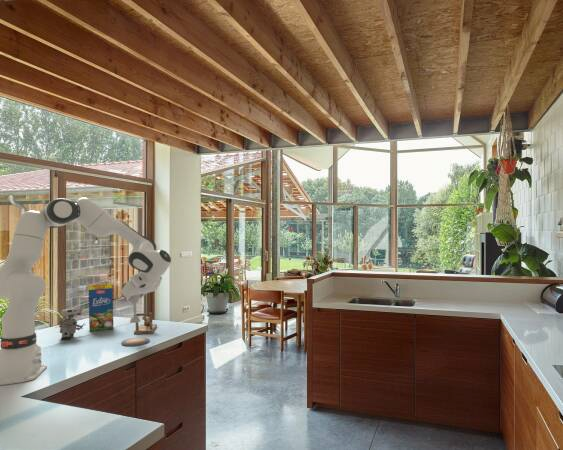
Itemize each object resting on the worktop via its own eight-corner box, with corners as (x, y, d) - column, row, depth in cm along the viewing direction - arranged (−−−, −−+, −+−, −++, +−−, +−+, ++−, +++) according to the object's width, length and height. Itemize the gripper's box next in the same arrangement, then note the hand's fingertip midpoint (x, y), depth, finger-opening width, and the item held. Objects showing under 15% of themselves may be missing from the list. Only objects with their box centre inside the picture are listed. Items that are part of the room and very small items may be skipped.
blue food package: (89, 329, 239) (88, 284, 239) (112, 326, 245) (111, 282, 245) (89, 331, 234) (88, 285, 234) (113, 328, 239) (112, 283, 239)
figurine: (82, 338, 219) (82, 309, 219) (57, 340, 216) (57, 310, 216) (85, 334, 228) (85, 306, 228) (61, 336, 225) (61, 307, 225)
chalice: (137, 323, 204) (136, 285, 204) (124, 323, 205) (123, 285, 206) (145, 320, 211) (144, 283, 211) (132, 319, 213) (131, 283, 213)
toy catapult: (140, 327, 241) (139, 309, 241) (156, 326, 242) (156, 308, 242) (134, 334, 225) (133, 315, 225) (151, 333, 226) (151, 314, 226)
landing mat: (151, 344, 205) (150, 342, 205) (121, 347, 200) (121, 345, 200) (148, 337, 217) (148, 336, 217) (120, 341, 212) (120, 339, 212)
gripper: (159, 271, 215) (145, 290, 219) (128, 276, 196) (113, 296, 201) (167, 280, 213) (152, 299, 217) (135, 286, 194) (120, 306, 199)
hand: (133, 298), depth 209 cm, fingers closed on chalice, 6 cm apart
